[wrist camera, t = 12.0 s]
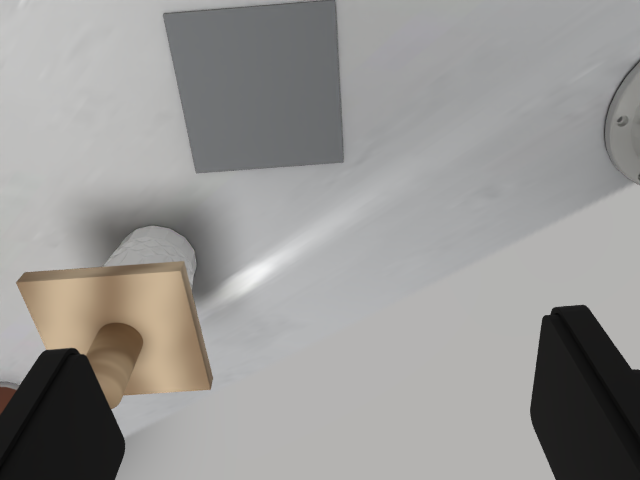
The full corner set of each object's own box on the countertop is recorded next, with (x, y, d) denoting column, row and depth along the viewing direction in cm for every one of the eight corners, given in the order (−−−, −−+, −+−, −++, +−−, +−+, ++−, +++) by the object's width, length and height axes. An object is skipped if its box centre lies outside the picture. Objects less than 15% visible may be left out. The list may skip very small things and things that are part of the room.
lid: (184, 261, 36) (162, 319, 30) (213, 378, 41) (198, 444, 36) (24, 272, 36) (-26, 332, 30) (74, 387, 41) (40, 454, 36)
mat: (334, -1, 36) (334, 0, 36) (343, 160, 43) (343, 162, 42) (164, 13, 37) (162, 14, 36) (197, 171, 43) (196, 173, 43)
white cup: (187, 303, 50) (162, 381, 41) (105, 275, 48) (60, 350, 39) (215, 238, 46) (194, 309, 38) (127, 205, 44) (83, 271, 36)
